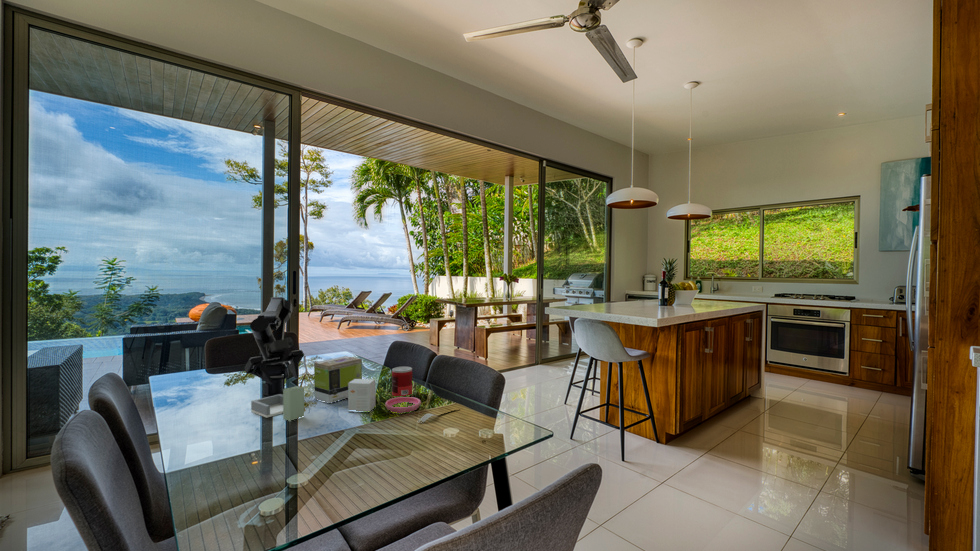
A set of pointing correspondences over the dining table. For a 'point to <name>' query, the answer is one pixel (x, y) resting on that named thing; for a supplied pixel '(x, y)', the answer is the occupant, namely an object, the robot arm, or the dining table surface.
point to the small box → (361, 394)
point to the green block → (293, 403)
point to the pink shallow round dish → (400, 400)
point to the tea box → (335, 377)
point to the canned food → (401, 381)
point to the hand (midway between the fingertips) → (284, 380)
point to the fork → (426, 417)
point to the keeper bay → (268, 406)
